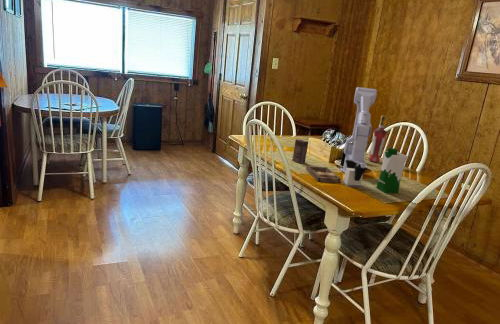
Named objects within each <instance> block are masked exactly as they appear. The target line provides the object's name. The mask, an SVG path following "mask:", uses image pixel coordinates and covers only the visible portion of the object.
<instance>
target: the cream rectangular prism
mask: <svg viewBox="0 0 500 324" xmlns="http://www.w3.org/2000/svg"><path fill="white" fill-rule="evenodd" d="M363 176H364V174H363V175H362V176H361V178H360V180H359V181H355V168H346V171H345V173H344V177H343V180H342V181H343V182H344V183H345V184H347V185H362V181H363ZM344 183H343V184H344ZM345 184H344V185H345Z"/></svg>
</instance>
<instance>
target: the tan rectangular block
mask: <svg viewBox="0 0 500 324" xmlns="http://www.w3.org/2000/svg"><path fill="white" fill-rule="evenodd" d="M316 172H317V173H316V174H317V175H318V176H320V177H330V178H335V177H336V175H337V174H336V173H334V172H333V173H326V172H325V171H316Z"/></svg>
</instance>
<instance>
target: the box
mask: <svg viewBox="0 0 500 324" xmlns="http://www.w3.org/2000/svg"><path fill="white" fill-rule="evenodd" d="M308 145H309V141H307V140H304V139H299V138H298V139H295V141H294V149H293V152H292V153H293V154H292V162H293V161H294V162H296V163H299V164H304V163H305V162H306V157H307V152H308Z"/></svg>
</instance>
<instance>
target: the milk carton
mask: <svg viewBox="0 0 500 324" xmlns="http://www.w3.org/2000/svg"><path fill="white" fill-rule="evenodd" d="M382 155H383V158H382V159H383V161H382V164H381V169H380V174H379V177H378V181H377V183H376V184H377V185H376V186H375V187H376V189H378V190H380V191H381V192H382V193H384V194H399V190H400V184H401V179H402V175H403V171H404V167H405V164H406V162H407V160H408V158H409V155H406V154H403V153H401V152H399V151H398V149H397V148H395V147H394V148H393V147H388V149H387V151H386V150H383V154H382Z"/></svg>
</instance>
